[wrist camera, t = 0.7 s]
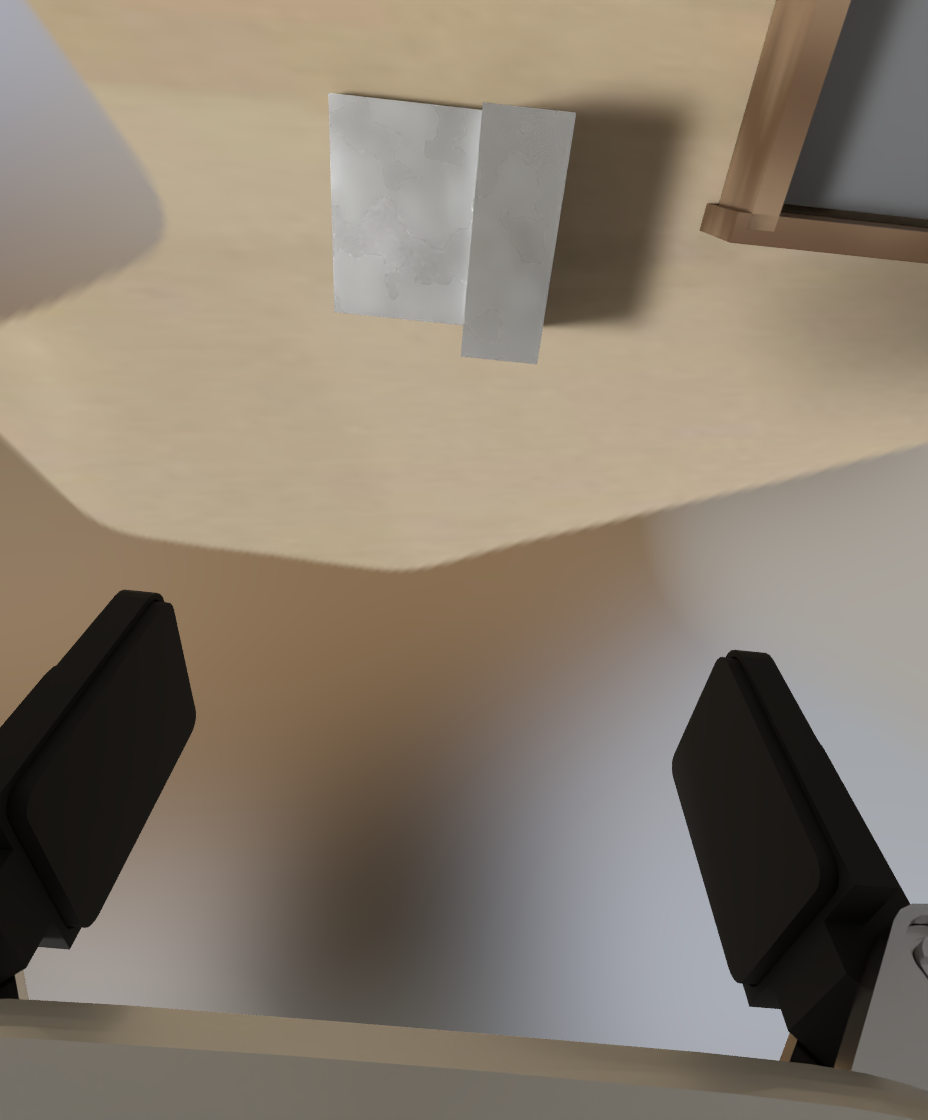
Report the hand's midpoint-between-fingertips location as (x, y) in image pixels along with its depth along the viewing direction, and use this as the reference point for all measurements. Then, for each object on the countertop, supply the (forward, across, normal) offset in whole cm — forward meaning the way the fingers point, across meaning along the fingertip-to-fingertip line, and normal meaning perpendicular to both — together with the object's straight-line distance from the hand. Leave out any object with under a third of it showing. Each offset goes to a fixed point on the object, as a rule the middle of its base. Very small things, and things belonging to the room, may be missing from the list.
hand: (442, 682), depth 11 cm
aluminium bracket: (+23, +2, -5) cm, 23 cm away
